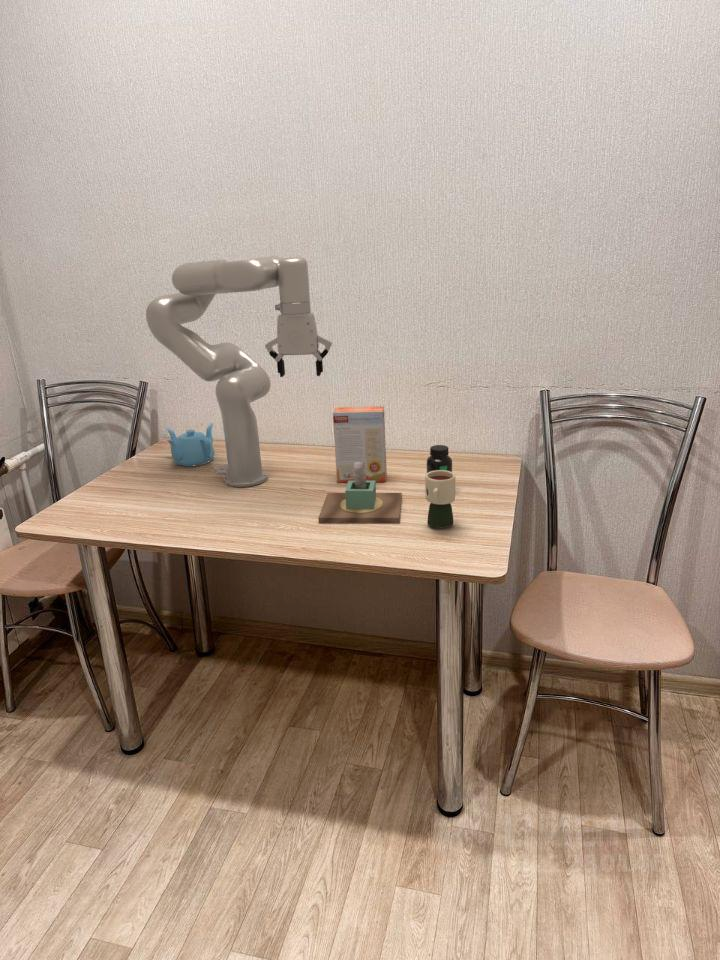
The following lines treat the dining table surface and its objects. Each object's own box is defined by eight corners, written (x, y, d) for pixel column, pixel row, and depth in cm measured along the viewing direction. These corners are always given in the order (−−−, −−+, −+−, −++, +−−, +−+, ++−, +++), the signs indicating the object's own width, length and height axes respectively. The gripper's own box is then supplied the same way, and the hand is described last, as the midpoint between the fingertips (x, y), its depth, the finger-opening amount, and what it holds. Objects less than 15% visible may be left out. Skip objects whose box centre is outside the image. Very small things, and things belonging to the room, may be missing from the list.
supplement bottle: (449, 495, 185) (449, 452, 181) (424, 492, 187) (423, 450, 183) (454, 485, 191) (454, 444, 187) (430, 483, 193) (429, 442, 189)
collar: (346, 509, 175) (345, 490, 173) (349, 498, 181) (348, 480, 179) (373, 509, 174) (372, 490, 172) (376, 498, 180) (375, 480, 178)
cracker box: (387, 475, 201) (384, 405, 193) (385, 482, 195) (383, 411, 188) (339, 475, 202) (335, 406, 195) (336, 483, 197) (332, 411, 189)
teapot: (217, 466, 214) (214, 434, 211) (168, 471, 212) (163, 439, 208) (217, 452, 228) (213, 422, 224) (170, 456, 225) (165, 426, 221)
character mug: (431, 514, 174) (431, 466, 169) (459, 517, 171) (460, 468, 166) (420, 532, 164) (419, 482, 159) (449, 536, 162) (449, 484, 157)
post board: (318, 523, 172) (315, 475, 167) (327, 498, 187) (324, 453, 182) (399, 523, 170) (398, 474, 165) (401, 497, 184) (400, 452, 180)
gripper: (258, 311, 172) (265, 379, 178) (327, 309, 170) (331, 378, 177) (265, 307, 179) (271, 373, 185) (331, 305, 177) (335, 371, 184)
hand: (300, 375), depth 181 cm, fingers open, 9 cm apart
